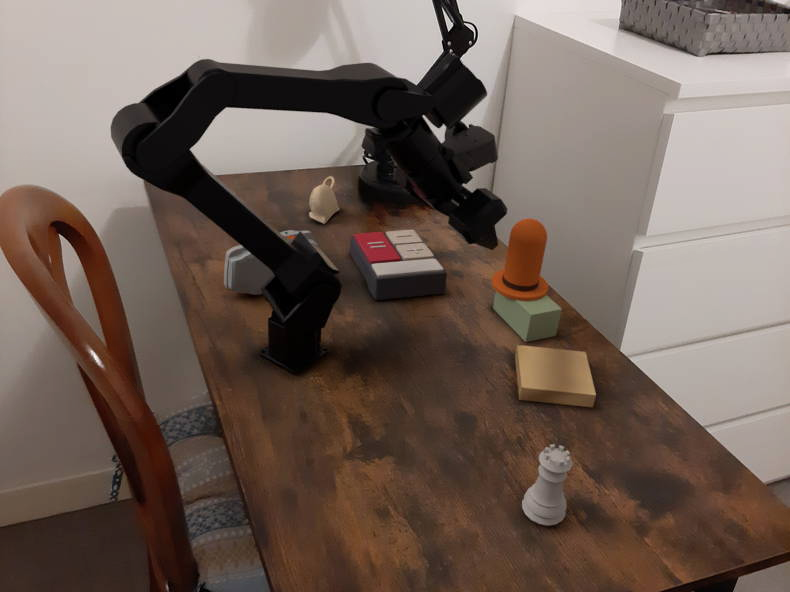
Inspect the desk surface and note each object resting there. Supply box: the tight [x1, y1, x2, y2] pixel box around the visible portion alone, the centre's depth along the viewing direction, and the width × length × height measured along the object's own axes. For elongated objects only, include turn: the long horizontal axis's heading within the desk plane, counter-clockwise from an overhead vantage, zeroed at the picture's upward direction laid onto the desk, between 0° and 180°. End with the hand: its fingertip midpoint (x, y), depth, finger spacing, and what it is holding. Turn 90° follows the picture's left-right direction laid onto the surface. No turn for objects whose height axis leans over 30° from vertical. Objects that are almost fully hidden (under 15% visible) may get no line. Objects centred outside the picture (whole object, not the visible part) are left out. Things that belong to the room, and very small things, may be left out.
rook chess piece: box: [521, 443, 573, 527], centre depth 75 cm, size 4×4×8 cm
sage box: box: [492, 291, 563, 343], centre depth 106 cm, size 5×9×4 cm, turn 24°
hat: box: [490, 218, 549, 301], centre depth 104 cm, size 8×8×10 cm
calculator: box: [349, 229, 448, 301], centre depth 116 cm, size 11×4×15 cm
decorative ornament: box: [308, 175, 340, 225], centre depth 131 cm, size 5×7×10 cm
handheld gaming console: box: [223, 229, 319, 296], centre depth 108 cm, size 14×3×8 cm, turn 124°
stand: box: [514, 344, 597, 408], centre depth 95 cm, size 9×9×2 cm
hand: (475, 231), depth 101 cm, fingers open, 9 cm apart
